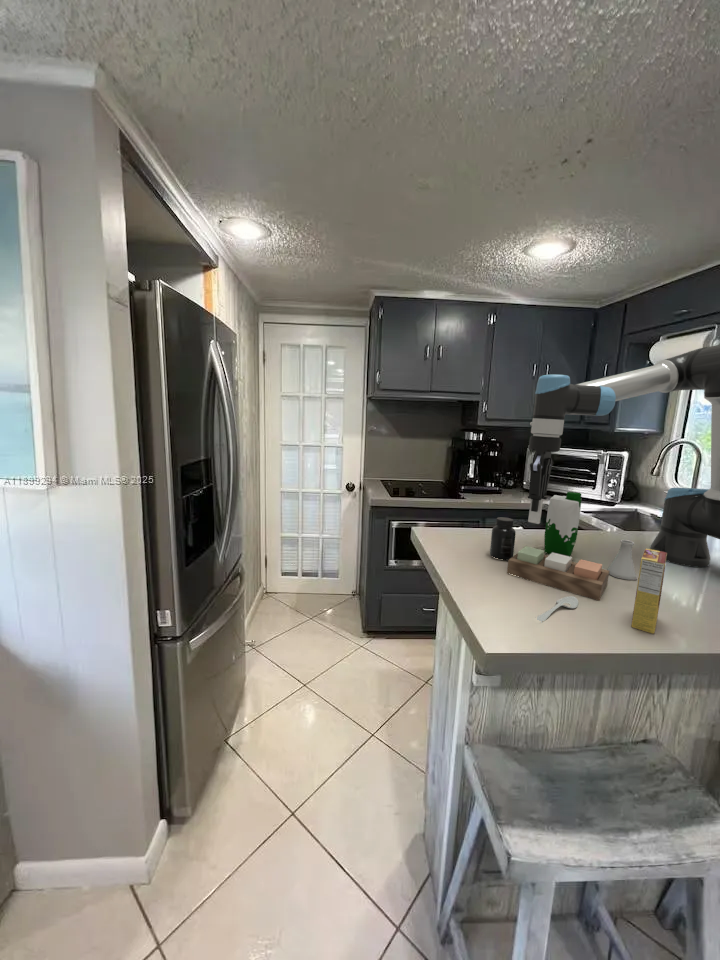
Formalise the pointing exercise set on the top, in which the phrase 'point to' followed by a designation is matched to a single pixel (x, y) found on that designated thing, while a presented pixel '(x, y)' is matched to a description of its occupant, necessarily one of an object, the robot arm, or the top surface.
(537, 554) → the sage key
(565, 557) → the white rectangular block
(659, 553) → the candy box
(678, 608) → the top surface
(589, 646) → the top surface
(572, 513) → the milk carton
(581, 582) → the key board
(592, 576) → the terracotta key
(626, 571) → the flask
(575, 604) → the spoon
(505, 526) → the supplement bottle
